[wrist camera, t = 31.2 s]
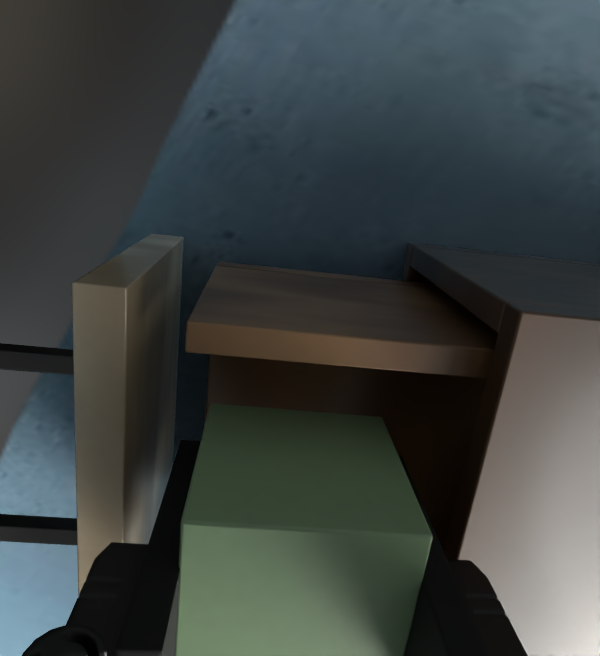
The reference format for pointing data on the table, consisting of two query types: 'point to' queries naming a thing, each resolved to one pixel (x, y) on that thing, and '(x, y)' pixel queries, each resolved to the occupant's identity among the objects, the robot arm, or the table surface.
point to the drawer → (250, 377)
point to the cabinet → (531, 440)
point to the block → (298, 538)
